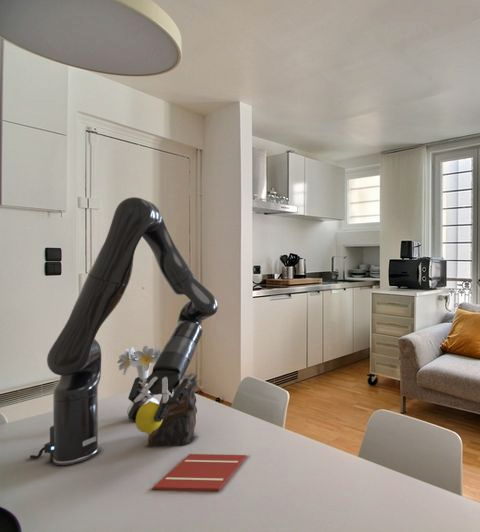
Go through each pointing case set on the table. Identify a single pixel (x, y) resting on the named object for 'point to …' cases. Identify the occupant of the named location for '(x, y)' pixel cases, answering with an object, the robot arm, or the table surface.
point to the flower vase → (139, 364)
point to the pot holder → (201, 472)
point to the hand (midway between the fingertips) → (144, 420)
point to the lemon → (147, 418)
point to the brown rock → (177, 420)
